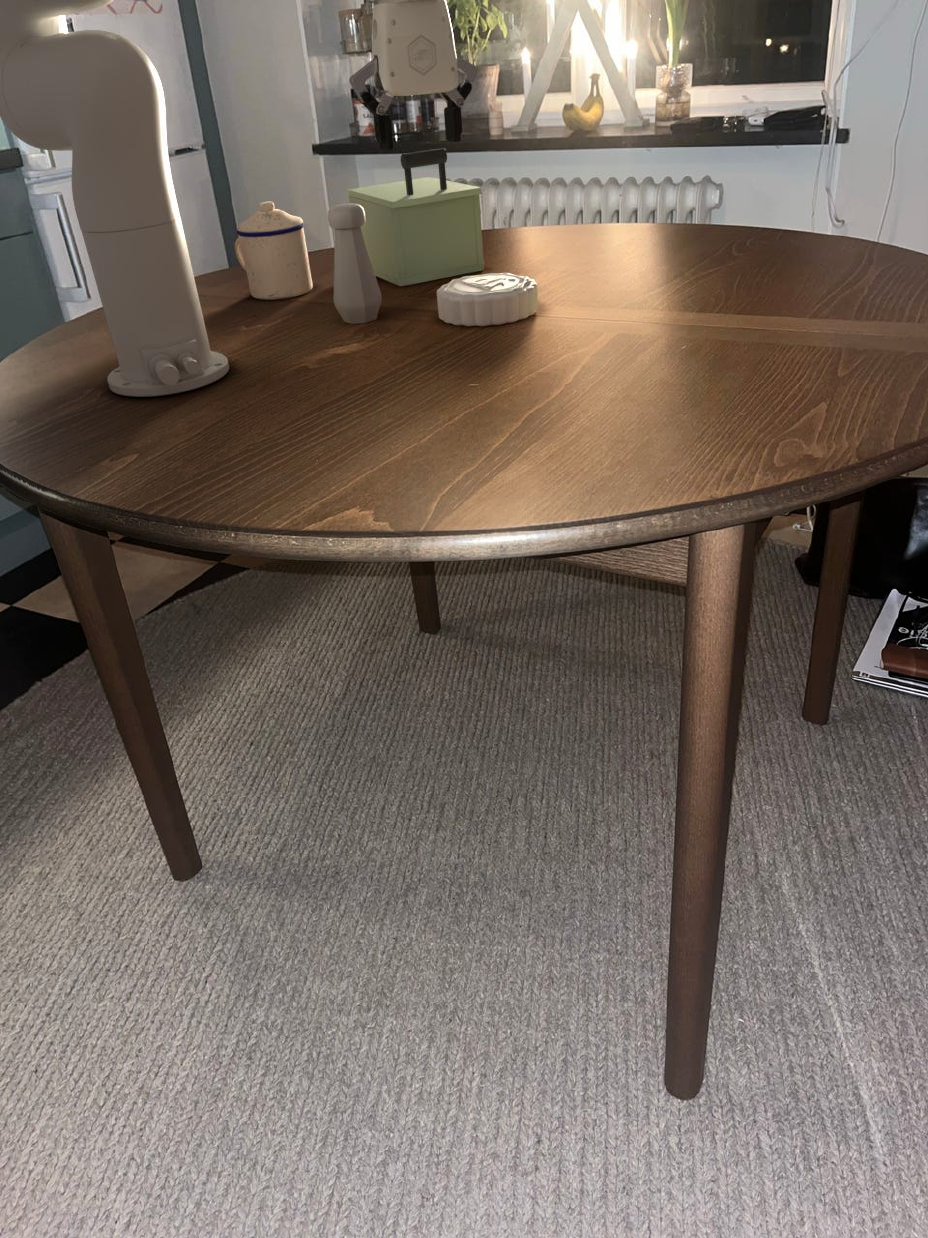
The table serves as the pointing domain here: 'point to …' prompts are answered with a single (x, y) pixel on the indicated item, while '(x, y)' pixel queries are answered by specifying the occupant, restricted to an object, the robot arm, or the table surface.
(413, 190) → the green lid with handle
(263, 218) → the teacup with lid
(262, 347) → the table surface
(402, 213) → the green rectangular box
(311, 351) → the table surface
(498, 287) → the mooncake
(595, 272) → the table surface
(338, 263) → the salt shaker
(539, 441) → the table surface
